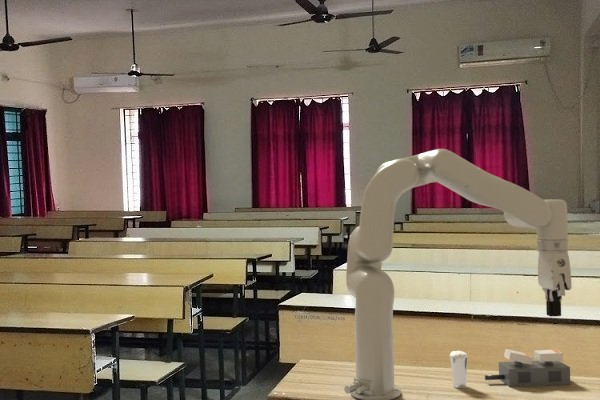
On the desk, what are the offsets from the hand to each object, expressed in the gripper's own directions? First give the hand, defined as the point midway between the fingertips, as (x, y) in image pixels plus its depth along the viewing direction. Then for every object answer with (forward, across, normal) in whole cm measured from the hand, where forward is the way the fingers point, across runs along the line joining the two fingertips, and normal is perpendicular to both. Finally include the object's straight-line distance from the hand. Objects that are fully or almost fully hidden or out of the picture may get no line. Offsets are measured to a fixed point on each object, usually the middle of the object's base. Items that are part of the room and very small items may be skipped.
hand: (553, 315), depth 158 cm
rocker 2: (+10, 0, +2) cm, 11 cm away
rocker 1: (+10, 0, +10) cm, 14 cm away
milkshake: (+17, -2, +26) cm, 31 cm away
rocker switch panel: (+17, 0, +8) cm, 19 cm away
